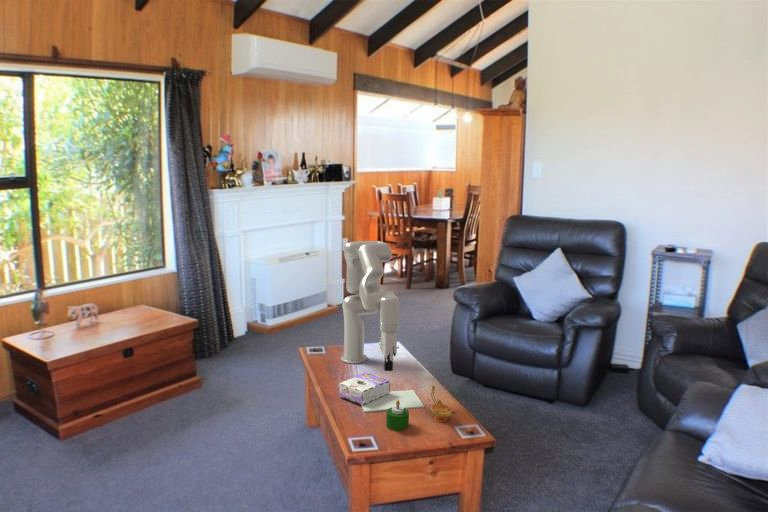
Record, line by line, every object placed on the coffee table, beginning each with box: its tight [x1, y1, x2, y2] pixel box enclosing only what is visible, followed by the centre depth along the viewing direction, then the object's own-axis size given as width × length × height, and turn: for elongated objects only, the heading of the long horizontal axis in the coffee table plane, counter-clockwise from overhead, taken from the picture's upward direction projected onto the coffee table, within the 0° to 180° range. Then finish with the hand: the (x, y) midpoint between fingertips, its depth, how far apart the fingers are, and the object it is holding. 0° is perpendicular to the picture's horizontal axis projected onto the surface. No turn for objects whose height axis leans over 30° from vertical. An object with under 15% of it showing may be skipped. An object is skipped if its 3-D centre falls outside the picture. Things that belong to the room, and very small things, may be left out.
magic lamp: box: [430, 385, 457, 423], centre depth 219 cm, size 7×18×11 cm, turn 24°
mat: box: [360, 389, 425, 413], centre depth 236 cm, size 16×24×1 cm, turn 103°
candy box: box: [338, 372, 391, 406], centre depth 240 cm, size 14×6×16 cm
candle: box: [385, 400, 410, 432], centre depth 214 cm, size 8×8×10 cm
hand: (388, 370), depth 237 cm, fingers closed
